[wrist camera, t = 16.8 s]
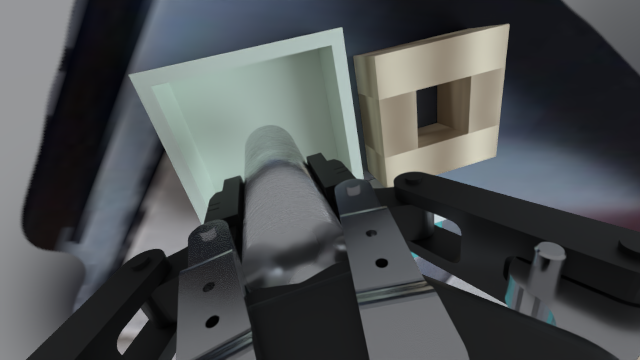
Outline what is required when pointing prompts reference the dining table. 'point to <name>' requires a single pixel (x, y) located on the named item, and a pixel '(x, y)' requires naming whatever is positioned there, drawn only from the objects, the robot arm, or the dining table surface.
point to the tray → (251, 108)
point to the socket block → (452, 102)
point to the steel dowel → (284, 214)
